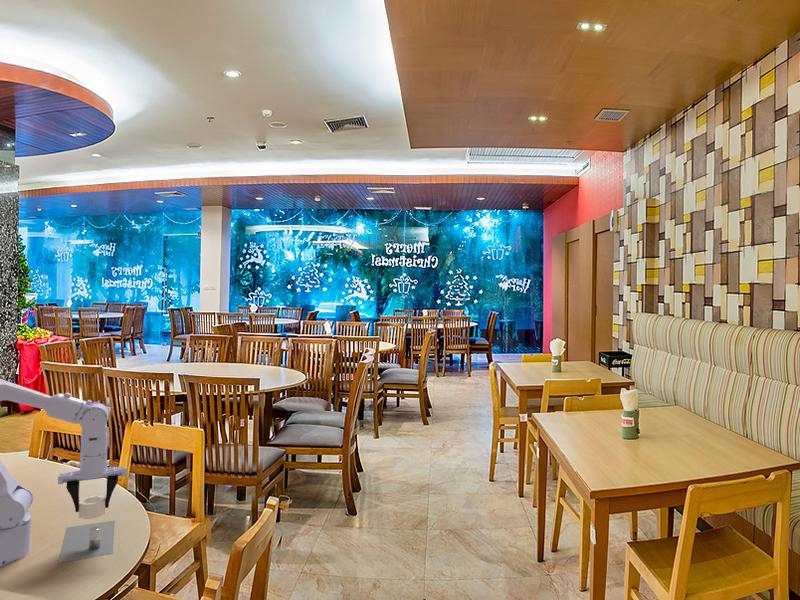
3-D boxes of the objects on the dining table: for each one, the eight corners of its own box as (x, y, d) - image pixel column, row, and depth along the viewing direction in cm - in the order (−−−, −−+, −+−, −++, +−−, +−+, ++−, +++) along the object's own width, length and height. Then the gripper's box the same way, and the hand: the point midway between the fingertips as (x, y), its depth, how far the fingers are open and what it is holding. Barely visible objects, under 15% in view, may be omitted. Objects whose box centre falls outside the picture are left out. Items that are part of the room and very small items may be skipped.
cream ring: (105, 516, 128) (105, 502, 128) (78, 520, 125) (78, 506, 125) (105, 508, 133) (105, 494, 133) (79, 511, 130) (79, 497, 130)
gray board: (112, 558, 124) (112, 553, 124) (57, 568, 119) (57, 563, 119) (114, 524, 142) (114, 520, 142) (66, 532, 136) (66, 527, 136)
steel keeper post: (94, 550, 125) (95, 531, 125) (86, 549, 126) (86, 530, 125) (102, 545, 127) (103, 527, 127) (94, 544, 128) (94, 526, 128)
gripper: (126, 446, 136) (125, 498, 136) (60, 452, 129) (58, 507, 129) (127, 453, 129) (125, 508, 130) (57, 460, 123) (56, 518, 123)
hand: (92, 508), depth 129 cm, fingers closed on cream ring, 6 cm apart
